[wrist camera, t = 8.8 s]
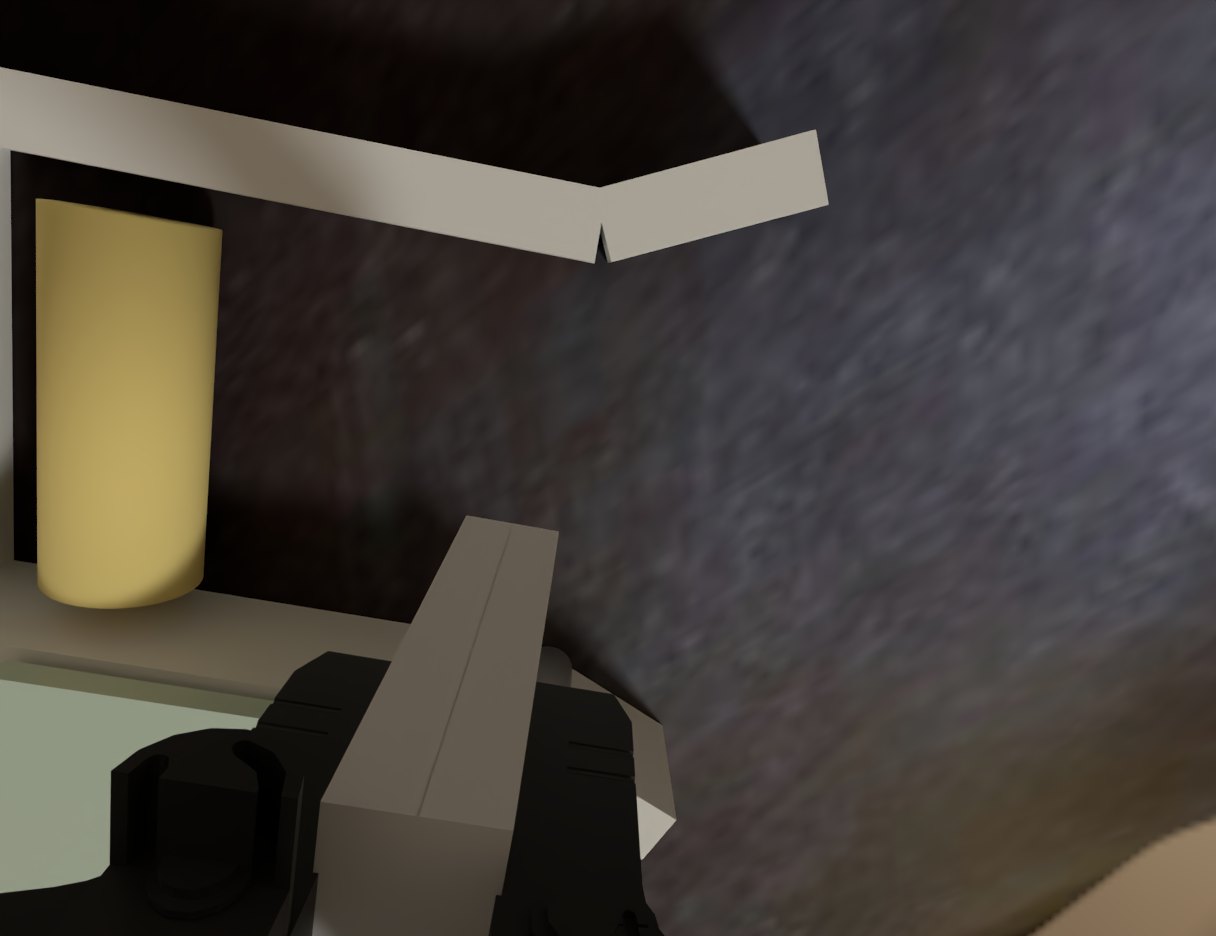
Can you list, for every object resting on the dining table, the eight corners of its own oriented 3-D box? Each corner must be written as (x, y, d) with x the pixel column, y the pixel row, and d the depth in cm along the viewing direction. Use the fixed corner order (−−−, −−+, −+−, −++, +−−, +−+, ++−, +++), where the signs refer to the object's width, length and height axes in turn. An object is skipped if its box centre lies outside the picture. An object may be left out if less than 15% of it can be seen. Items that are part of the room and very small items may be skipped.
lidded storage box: (-37, 657, 24) (-175, 742, 20) (-56, -13, 20) (-241, -93, 15) (653, 762, 26) (666, 863, 21) (793, 162, 21) (845, 135, 17)
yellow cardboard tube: (-8, 191, 18) (131, 219, 17) (137, 211, 22) (256, 235, 21) (-2, 581, 20) (120, 623, 20) (127, 538, 24) (234, 572, 23)
